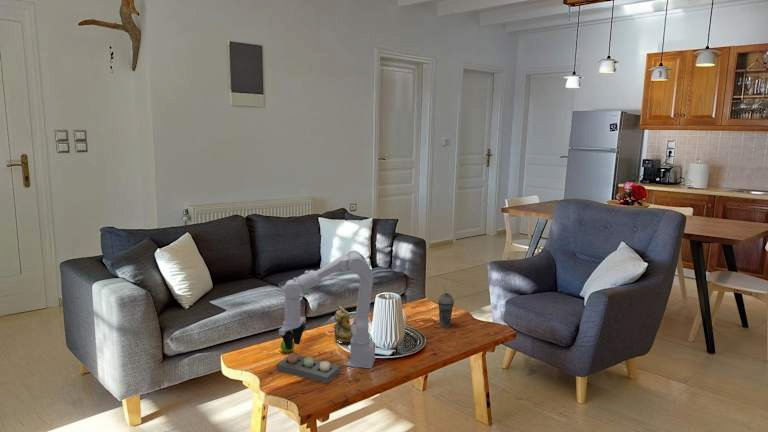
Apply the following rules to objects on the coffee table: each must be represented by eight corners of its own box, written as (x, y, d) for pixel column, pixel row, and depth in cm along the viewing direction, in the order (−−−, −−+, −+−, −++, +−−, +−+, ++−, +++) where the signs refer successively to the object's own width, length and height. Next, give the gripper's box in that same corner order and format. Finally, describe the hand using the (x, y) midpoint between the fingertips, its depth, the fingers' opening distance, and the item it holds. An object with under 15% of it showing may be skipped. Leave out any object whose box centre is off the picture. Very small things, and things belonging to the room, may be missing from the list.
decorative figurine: (331, 337, 232) (331, 304, 229) (348, 334, 235) (349, 301, 232) (339, 346, 223) (339, 312, 220) (357, 343, 227) (358, 309, 224)
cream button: (331, 369, 199) (331, 362, 198) (326, 374, 196) (326, 366, 195) (323, 367, 200) (323, 360, 200) (317, 371, 197) (317, 364, 197)
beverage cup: (453, 329, 244) (455, 287, 240) (437, 328, 244) (439, 286, 240) (451, 323, 251) (454, 282, 247) (436, 322, 251) (438, 281, 247)
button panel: (340, 372, 201) (340, 365, 201) (326, 383, 192) (326, 377, 192) (292, 359, 210) (291, 353, 210) (276, 370, 201) (276, 364, 201)
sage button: (315, 365, 202) (315, 358, 201) (310, 369, 198) (310, 362, 198) (307, 363, 203) (307, 356, 203) (301, 367, 200) (301, 360, 199)
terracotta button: (299, 361, 205) (299, 354, 204) (294, 365, 201) (294, 358, 201) (291, 359, 206) (291, 352, 206) (286, 363, 203) (286, 356, 202)
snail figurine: (293, 355, 214) (293, 327, 211) (278, 353, 215) (278, 325, 213) (298, 349, 219) (298, 322, 217) (283, 348, 220) (283, 320, 218)
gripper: (294, 304, 208) (295, 337, 211) (271, 316, 195) (272, 351, 198) (310, 307, 205) (310, 340, 208) (287, 320, 192) (288, 355, 195)
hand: (292, 346), depth 203 cm, fingers open, 5 cm apart
